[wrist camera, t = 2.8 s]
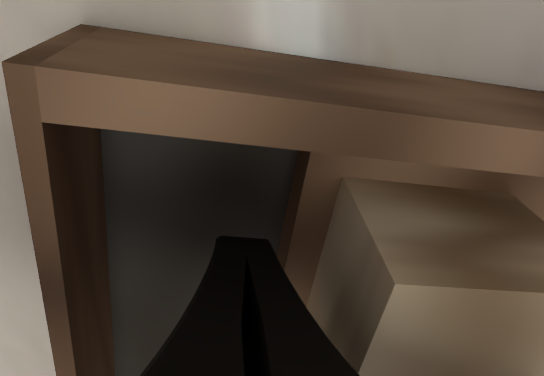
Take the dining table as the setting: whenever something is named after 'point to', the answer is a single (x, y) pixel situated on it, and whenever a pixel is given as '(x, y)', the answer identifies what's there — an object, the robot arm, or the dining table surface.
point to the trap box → (222, 168)
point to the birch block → (432, 281)
